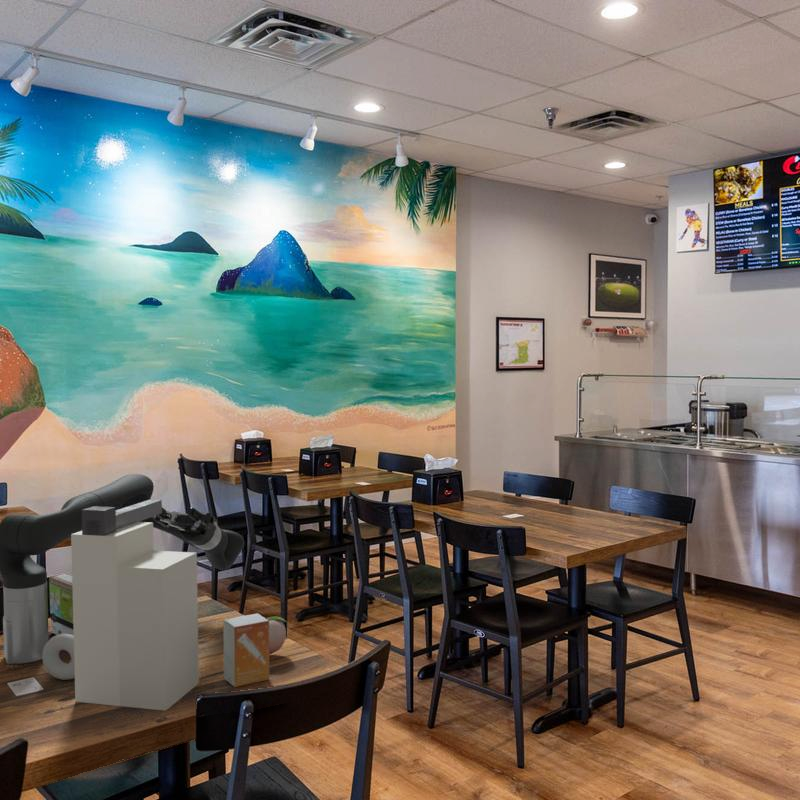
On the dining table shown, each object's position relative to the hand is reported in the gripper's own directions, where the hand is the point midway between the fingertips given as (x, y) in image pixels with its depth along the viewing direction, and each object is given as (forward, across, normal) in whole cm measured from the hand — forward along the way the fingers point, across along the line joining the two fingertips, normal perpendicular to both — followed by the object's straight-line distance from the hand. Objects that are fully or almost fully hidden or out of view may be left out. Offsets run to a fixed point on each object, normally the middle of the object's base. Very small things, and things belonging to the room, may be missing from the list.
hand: (173, 510), depth 193 cm
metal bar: (+18, 0, -9) cm, 20 cm away
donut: (+3, +14, -40) cm, 42 cm away
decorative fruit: (-16, -23, -29) cm, 41 cm away
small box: (-4, -24, -36) cm, 43 cm away
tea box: (-20, +28, -27) cm, 44 cm away
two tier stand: (+5, -5, -41) cm, 42 cm away
